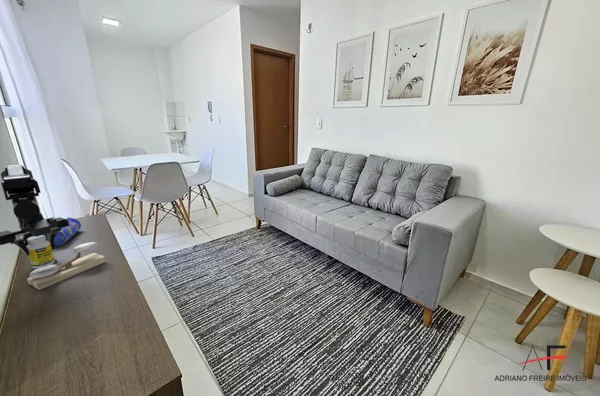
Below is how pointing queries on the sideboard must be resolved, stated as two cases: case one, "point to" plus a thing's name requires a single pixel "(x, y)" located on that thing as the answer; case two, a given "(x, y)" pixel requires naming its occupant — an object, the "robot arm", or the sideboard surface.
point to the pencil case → (67, 231)
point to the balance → (66, 267)
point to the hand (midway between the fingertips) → (40, 251)
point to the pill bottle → (40, 251)
